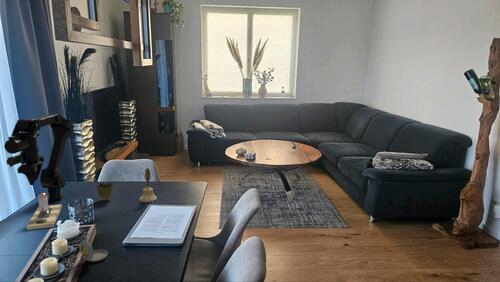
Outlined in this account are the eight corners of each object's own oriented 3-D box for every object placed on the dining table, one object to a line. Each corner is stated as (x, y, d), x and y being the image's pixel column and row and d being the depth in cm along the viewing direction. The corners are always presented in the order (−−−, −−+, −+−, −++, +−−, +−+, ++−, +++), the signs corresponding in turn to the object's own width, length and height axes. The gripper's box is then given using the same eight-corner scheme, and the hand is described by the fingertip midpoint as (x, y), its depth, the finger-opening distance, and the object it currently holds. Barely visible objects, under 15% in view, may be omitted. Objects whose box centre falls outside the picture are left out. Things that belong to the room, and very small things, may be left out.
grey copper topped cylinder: (40, 213, 140) (37, 191, 138) (51, 212, 142) (48, 191, 139) (38, 217, 136) (35, 195, 134) (49, 216, 138) (46, 194, 136)
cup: (96, 203, 156) (95, 187, 155) (98, 197, 163) (97, 182, 162) (113, 202, 158) (112, 186, 157) (114, 196, 165) (114, 181, 164)
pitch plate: (38, 209, 148) (38, 203, 147) (61, 207, 151) (61, 201, 150) (26, 229, 130) (26, 222, 129) (53, 226, 133) (52, 219, 132)
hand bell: (158, 195, 168) (157, 165, 165) (155, 202, 160) (154, 170, 157) (141, 196, 167) (140, 165, 164) (137, 202, 159) (136, 170, 156)
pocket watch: (110, 252, 116) (108, 225, 114) (100, 266, 108) (98, 238, 106) (86, 252, 115) (84, 225, 113) (75, 265, 107) (72, 237, 105)
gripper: (14, 144, 147) (18, 177, 150) (-1, 154, 130) (4, 191, 133) (42, 143, 151) (46, 175, 154) (32, 152, 134) (36, 189, 137)
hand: (33, 182), depth 145 cm, fingers open, 6 cm apart
